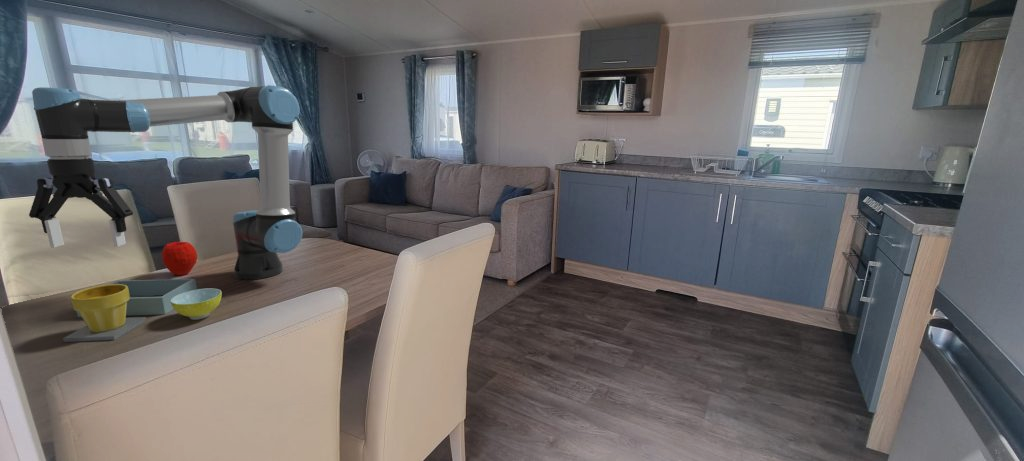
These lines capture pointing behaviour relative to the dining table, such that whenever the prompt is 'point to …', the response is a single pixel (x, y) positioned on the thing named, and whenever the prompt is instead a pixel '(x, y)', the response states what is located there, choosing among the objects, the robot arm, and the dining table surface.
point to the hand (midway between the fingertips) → (89, 245)
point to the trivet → (87, 335)
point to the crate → (151, 288)
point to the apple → (179, 257)
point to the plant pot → (102, 306)
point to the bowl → (197, 302)
